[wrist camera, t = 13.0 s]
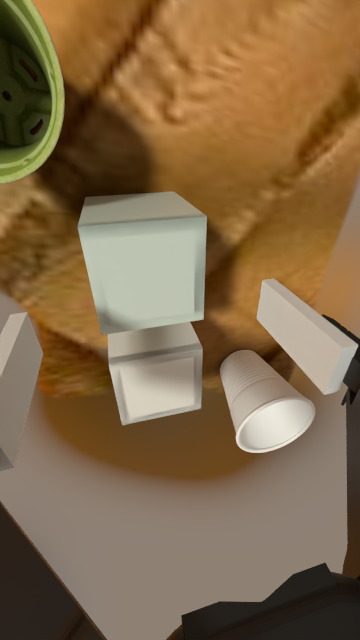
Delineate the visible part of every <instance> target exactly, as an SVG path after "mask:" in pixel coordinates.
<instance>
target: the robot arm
mask: <svg viewBox="0 0 360 640" xmlns="http://www.w3.org/2000/svg"><path fill="white" fill-rule="evenodd" d="M257 320H258V321H259V322H260V323H261V324H262V325H263V326H264V328H265V329H266V330H267V331H268V332H269V333H270V334H271V335H272V337H273V338H274V339H275V340H276V341H277V342H278V343H279V344H280V346H281V347H282V348H283V349H284V350H285V351H286V352H287V353H288V355H289V356H290V357H291V358H292V359H293V360H294V361H295V362H296V364H297V365H298V366H299V367H300V368H301V369H302V370H303V371H304V372H305V374H306V375H307V376H308V377H309V378H310V379H311V380H312V382H313V383H314V384H315V385H316V386H317V387H318V388H319V389H320V391H321V392H322V393H323V394H324V395H326V394H330V393H334V392H338V391H339V389H340V387H341V385H342V383H343V382H344V383H345V384H346V385H347V386H348V390H347V392H346V394H345V396H344V399H343V401H342V403H341V405H344V404H345V402H346V418H347V419H346V421H347V422H346V428H347V527H348V528H347V529H348V544H347V553H346V557H345V560H344V565H343V572H342V574H339V573H334V572H330V570H329V569H328V567H327V565H326V563H323V564H320V565H318V566H315V567H312V568H309V569H307V570H304V571H301V572H299V573H296V574H293V575H292V576H291V577H290V578H289V579H288V580H287V581H285V582H284V583H283V584H282V585H281V586H280V587H279V588H278V589H276V590H275V591H274V593H272V594H271V595H270V596H269V597H268V598H267V599H265V600H264V601H262V602H217V603H214V604H212V605H209V606H206V607H204V608H201V609H198V610H195V611H192V612H190V613H187V614H184V615H182V616H181V617H182V625H180V626H179V627H178V628H177V629H176V630H175V631H174V632H173V633H172V634H171V635H170V636H169V637H168V638H167V639H166V640H360V339H359V338H358V337H356V336H355V335H354V334H352V333H351V332H350V331H347V329H346V328H344V327H343V326H341V325H340V324H339V323H338V322H337V321H335V320H334V319H332V318H330V317H327V316H325V315H320V314H318V313H317V312H316V311H315V310H313V309H312V308H311V307H310V306H308V305H307V304H306V303H305V302H303V301H302V300H301V299H299V298H298V297H297V296H296V295H294V294H293V293H292V292H291V291H289V290H288V289H287V288H285V287H284V286H283V285H282V284H280V283H279V282H278V281H277V280H275V279H268V280H263V281H262V287H261V293H260V300H259V306H258V312H257ZM42 356H43V352H42V350H41V347H40V344H39V342H38V339H37V337H36V334H35V332H34V329H33V326H32V324H31V321H30V319H29V316H28V313H27V312H26V313H18V314H11V315H10V317H9V319H8V321H7V323H6V325H5V327H4V329H3V331H2V333H1V335H0V471H2V470H6V469H10V468H14V466H15V462H16V458H17V454H18V450H19V446H20V443H21V439H22V435H23V431H24V427H25V423H26V419H27V415H28V411H29V407H30V403H31V399H32V395H33V392H34V388H35V384H36V380H37V376H38V372H39V368H40V364H41V360H42ZM0 640H107V639H106V638H105V636H104V635H103V634H102V632H101V631H100V630H99V629H98V627H97V626H96V625H95V623H94V622H93V621H92V620H91V618H90V617H89V616H88V614H87V613H86V612H85V610H84V609H83V608H82V607H81V605H80V604H79V603H78V601H77V600H76V599H75V597H74V596H73V595H72V594H71V592H70V591H69V590H68V589H67V587H66V586H65V585H64V583H63V582H62V581H61V579H60V578H59V577H58V575H57V574H56V573H55V572H54V570H53V569H52V568H51V566H50V565H49V564H48V563H47V561H46V560H45V559H44V557H43V556H42V555H41V553H40V552H39V551H38V549H37V548H36V547H35V546H34V544H33V543H32V542H31V540H30V539H29V538H28V536H27V535H26V534H25V533H24V531H23V530H22V529H21V527H20V526H19V525H18V523H17V522H16V521H15V520H14V518H13V517H12V516H11V514H10V513H9V512H8V511H7V509H6V508H5V507H4V505H3V504H2V503H1V501H0Z"/></svg>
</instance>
